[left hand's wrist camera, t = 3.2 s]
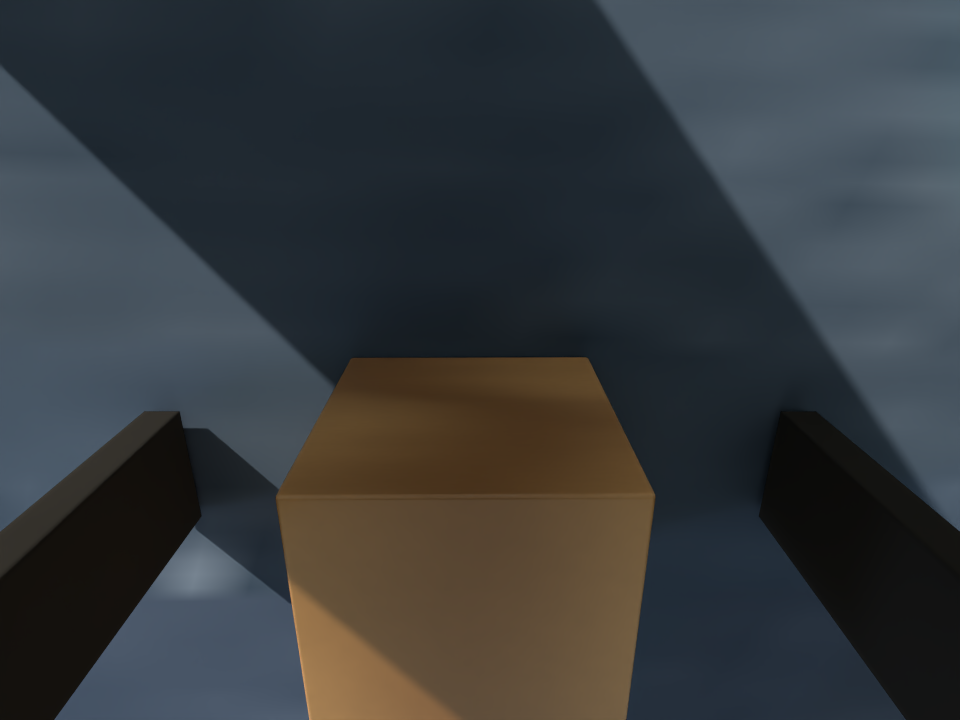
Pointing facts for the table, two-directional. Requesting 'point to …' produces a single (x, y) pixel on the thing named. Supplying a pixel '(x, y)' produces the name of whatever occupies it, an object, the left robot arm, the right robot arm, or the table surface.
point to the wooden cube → (466, 543)
